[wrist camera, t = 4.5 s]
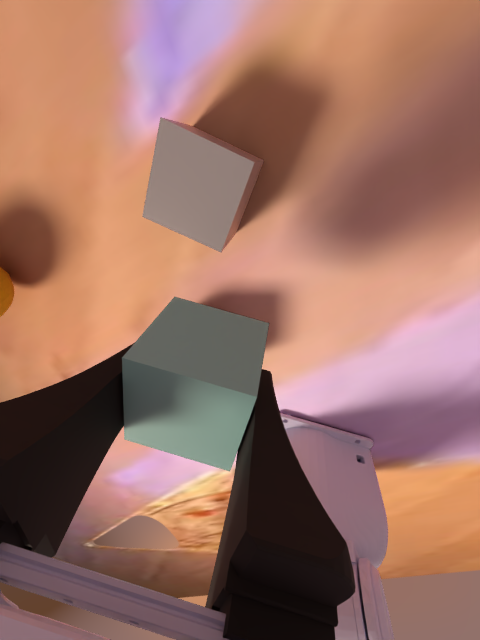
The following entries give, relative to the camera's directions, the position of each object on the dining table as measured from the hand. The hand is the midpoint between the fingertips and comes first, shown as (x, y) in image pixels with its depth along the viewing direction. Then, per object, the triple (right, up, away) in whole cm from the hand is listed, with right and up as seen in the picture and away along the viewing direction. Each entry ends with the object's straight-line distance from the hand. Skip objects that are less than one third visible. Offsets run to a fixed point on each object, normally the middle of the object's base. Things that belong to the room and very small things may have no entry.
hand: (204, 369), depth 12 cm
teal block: (0, +1, +1) cm, 2 cm away
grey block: (0, +11, +5) cm, 12 cm away
